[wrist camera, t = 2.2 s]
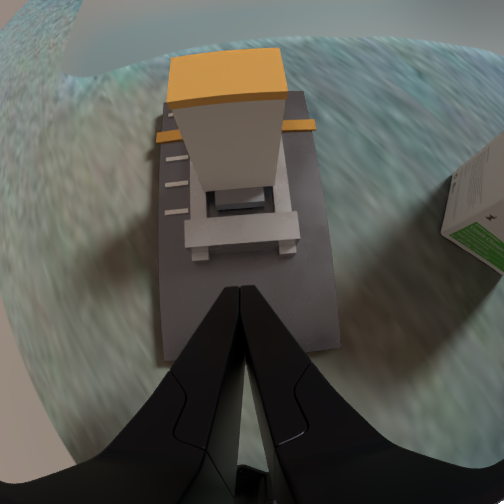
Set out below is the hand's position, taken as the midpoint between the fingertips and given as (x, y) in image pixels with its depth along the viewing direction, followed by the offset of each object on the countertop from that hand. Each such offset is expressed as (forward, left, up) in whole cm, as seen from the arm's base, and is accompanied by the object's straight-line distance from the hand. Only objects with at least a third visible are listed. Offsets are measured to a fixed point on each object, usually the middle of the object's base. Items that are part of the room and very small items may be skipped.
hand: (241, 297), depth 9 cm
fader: (+7, +4, -10) cm, 13 cm away
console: (+6, +3, -12) cm, 13 cm away
